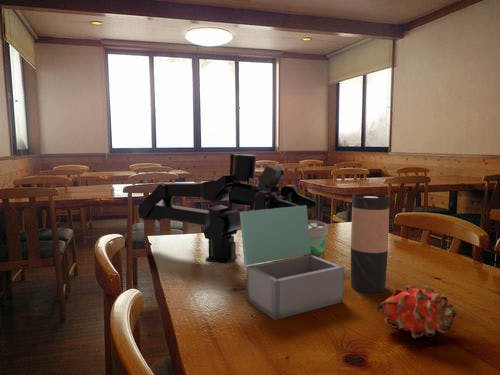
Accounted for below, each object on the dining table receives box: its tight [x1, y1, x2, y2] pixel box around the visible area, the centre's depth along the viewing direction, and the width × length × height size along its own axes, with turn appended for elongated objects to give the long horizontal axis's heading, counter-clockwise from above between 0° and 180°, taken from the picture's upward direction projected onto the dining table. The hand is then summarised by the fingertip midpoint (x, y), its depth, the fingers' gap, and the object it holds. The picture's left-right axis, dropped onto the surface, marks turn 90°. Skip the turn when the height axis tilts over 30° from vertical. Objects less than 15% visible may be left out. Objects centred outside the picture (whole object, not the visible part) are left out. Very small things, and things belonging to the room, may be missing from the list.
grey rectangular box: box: [246, 255, 345, 321], centre depth 76 cm, size 10×16×7 cm, turn 120°
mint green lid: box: [239, 205, 311, 266], centre depth 81 cm, size 10×16×1 cm
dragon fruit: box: [376, 284, 458, 339], centre depth 63 cm, size 8×8×12 cm
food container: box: [302, 219, 329, 260], centre depth 101 cm, size 12×6×10 cm, turn 168°
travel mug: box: [350, 193, 390, 294], centre depth 83 cm, size 8×8×20 cm
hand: (309, 206), depth 91 cm, fingers open, 9 cm apart
